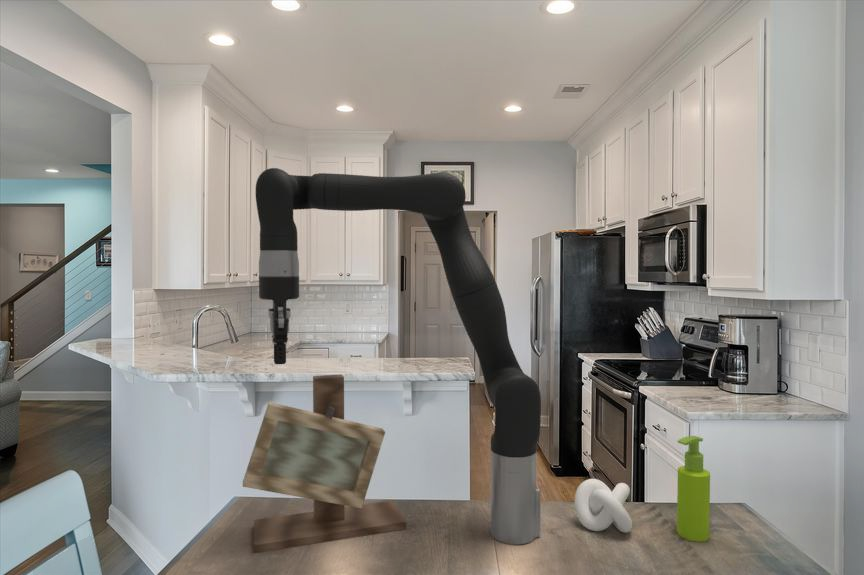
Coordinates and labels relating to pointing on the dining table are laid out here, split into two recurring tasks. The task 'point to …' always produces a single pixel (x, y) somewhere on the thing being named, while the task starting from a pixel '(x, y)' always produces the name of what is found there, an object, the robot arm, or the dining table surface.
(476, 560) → the dining table surface
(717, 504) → the dining table surface
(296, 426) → the frame
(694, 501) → the soap dispenser
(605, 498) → the white decorative knot
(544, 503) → the dining table surface
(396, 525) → the stand
